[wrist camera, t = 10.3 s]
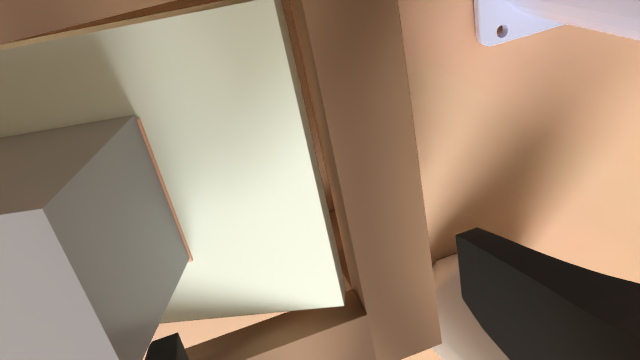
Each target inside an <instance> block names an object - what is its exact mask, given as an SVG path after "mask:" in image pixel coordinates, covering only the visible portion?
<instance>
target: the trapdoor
mask: <svg viewBox="0 0 640 360" xmlns="http://www.w3.org/2000/svg"><path fill="white" fill-rule="evenodd" d="M130 115H135V117H136V120H137V122H138V125H139V128H140V130H141V133H142V135H143V138H144V141H145V143H146V146H147V148H148V151H149V154H150V156H151V159H152V162H153V164H154V167H155V169H156V172H157V175H158V177H159V180H160V182H161V185H162V188H163V190H164V193H165V195H166V198H167V201H168V203H169V206H170V208H171V211H172V214H173V216H174V219H175V222H176V224H177V227H178V229H179V232H180V235H181V237H182V240H183V242H184V245H185V248H186V250H187V253H188V255H189V258H190V259H189V261H188V263H187V265H186V267H185V270H184V272H183V274H182V276H181V278H180V280H179V282H178V284H177V287H176V289H175V291H174V293H173V295H172V297H171V299H170V302H169V304H168V306H167V308H166V310H165V312H164V314H163V316H162V319H161V321H160V323H170V322H181V321H191V320H202V319H212V318H223V317H233V316H244V315H254V314H264V313H275V312H285V311H296V310H306V309H317V308H327V307H338V306H344V301H345V282H344V277H343V273H342V268H341V264H340V259H339V255H338V251H337V246H336V242H335V237H334V233H333V228H332V224H331V219H330V215H329V210H328V206H327V201H326V197H325V193H324V188H323V184H322V179H321V175H320V170H319V166H318V161H317V157H316V152H315V148H314V144H313V139H312V135H311V130H310V126H309V121H308V117H307V112H306V108H305V103H304V99H303V95H302V90H301V86H300V81H299V77H298V72H297V68H296V63H295V59H294V54H293V50H292V45H291V41H290V37H289V32H288V28H287V23H286V19H285V14H284V10H283V5H282V1H281V0H224V1H219V2H214V3H209V4H204V5H199V6H194V7H189V8H184V9H179V10H173V11H168V12H163V13H158V14H153V15H148V16H143V17H138V18H133V19H128V20H123V21H118V22H112V23H107V24H102V25H97V26H92V27H87V28H82V29H77V30H72V31H67V32H62V33H57V34H51V35H46V36H41V37H36V38H31V39H26V40H21V41H16V42H11V43H6V44H1V45H0V138H2V137H8V136H14V135H20V134H25V133H31V132H37V131H43V130H49V129H55V128H60V127H66V126H72V125H78V124H84V123H89V122H95V121H101V120H107V119H113V118H118V117H124V116H130ZM160 323H159V324H160Z"/></svg>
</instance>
